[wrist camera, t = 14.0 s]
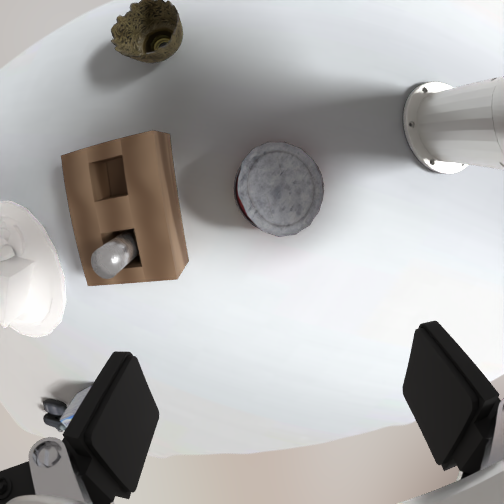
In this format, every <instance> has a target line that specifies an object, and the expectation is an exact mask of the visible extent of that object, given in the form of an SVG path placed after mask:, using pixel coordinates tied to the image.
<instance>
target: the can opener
mask: <svg viewBox="0 0 504 504" xmlns="http://www.w3.org/2000/svg"><path fill="white" fill-rule="evenodd" d="M43 405H44V409H45V411H46V412H48V413H47V414H45V415H44V418H43V419H44V422H45V424H47V425H49V426H52V427H55V428H56V429H58V431H59V432H63V430H66V428H67V427H66V426H64V425H63V424H62V422H61V421H60V418H61V417H62V415H63V413H64V412H65V410H66V409H67V406H66V405H65V404H64V403H63V402H60V401H56V400H45V401H43Z"/></svg>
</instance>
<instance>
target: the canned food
mask: <svg viewBox="0 0 504 504" xmlns="http://www.w3.org/2000/svg"><path fill="white" fill-rule="evenodd" d="M323 194H324V183H323V179H322V175H321V172H320V170H319V168H318V166H317V165H316V163H315V162H314V160H313V159H312V158H310V157H309V156H308V155H307V154H306V153H305V152H304V151H303V150H302V149H301V148H298V147H295V146H293V145H290V144H288V143H286V142H267V143H265V144H263V145H261V146H259V147H256V148H254V149H252V150H251V151H250V153H249V154H248V155H247V156H246V158H245V159H244V160H243V161H242V165H241V166H240V168H239V170H238V172H237V175H236V178H235V184H234V195H235V200H236V203H237V206H238V208H239V210H240V212H241V213H242V215H243V216H244V217H245V218H246V220H248V221H249V222H250V223H251V224H252V225H254V226H255V227H257V228H259V229H261V230H262V231H264V232H267V233H269V234H272V235H275V236H278V237H281V236H287V235H295V234H297V233H298V232H300V231H301V230H303V229H304V228H306V227H308V226H309V225H310V224H311V222H312V221H313V219H314V218H315V216H316V215H317V214H318V212H319V210H320V206H321V203H322V200H323Z"/></svg>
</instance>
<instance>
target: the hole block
mask: <svg viewBox="0 0 504 504" xmlns="http://www.w3.org/2000/svg"><path fill="white" fill-rule="evenodd" d="M61 160H62V168H63V175H64V182H65V188H66V194H67V200H68V205H69V211H70V216H71V221H72V226H73V230H74V235H75V239H76V243H77V247H78V251H79V255H80V259H81V263H82V267H83V270H84V274H85V277H86V281H87V284H88V286H96V285H110V284H124V283H137V282H150V281H163V280H175V279H178V277H179V276H180V274H181V273H182V271H183V269H184V268H185V266H186V265H187V263H188V261H189V259H188V253H187V248H186V242H185V236H184V230H183V224H182V218H181V212H180V206H179V199H178V193H177V186H176V179H175V171H174V164H173V156H172V148H171V140H170V134H168V133H163V132H159V131H154V130H153V131H148V132H144V133H139V134H135V135H131V136H127V137H123V138H119V139H115V140H112V141H108V142H104V143H101V144H97V145H94V146H90V147H87V148H84V149H80V150H77V151H74V152H71V153H68V154H65V155H62V156H61ZM133 228H134V230H135V235H136V240H137V245H138V249H139V254H138V255H137V256H136V257H135V258H134V259H133V260H132V261H130V262H129V263H128V264H127V265H126V266H125V267H124V268H123V269H122V270H121V271H120V272H118V273H117V274H116V275H115V276H114V277H113V278H110V279H104V278H101V277H100V276H98V275H97V274H96V273H95V272H94V270H93V268H92V265H91V256H92V254H93V252H94V251H95V250H97V249H98V248H100V247H101V246H103V245H104V244H106V243H107V242H109V241H110V240H112V239H114V238H115V237H117V236H118V235H120V234H121V233H123V232H125V231H126V230H128V229H133Z"/></svg>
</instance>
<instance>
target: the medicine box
mask: <svg viewBox="0 0 504 504" xmlns="http://www.w3.org/2000/svg"><path fill="white" fill-rule="evenodd" d="M91 386H92V385H91ZM91 386H89V387H88V388H86V389H84V390H82V391H81V392H79V393H77V394H76V395H75V397H74V398H73V400H72V401H71V403H70V404H69V406H68V407H67V409H66V410H65V412H64V413H63V415H62V417H61V418H60V421H61V422H62V424H63V425H64V426H66V427H67V426H68V425H69V423H70V421H71V419H72V418H73V416H74V414H75V413H76V411H77V409H78V408H79V406H80V404H81V403H82V401H83V399H84V398H85V396H86V395H87V393H88V391H89V390H90V388H91Z"/></svg>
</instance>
